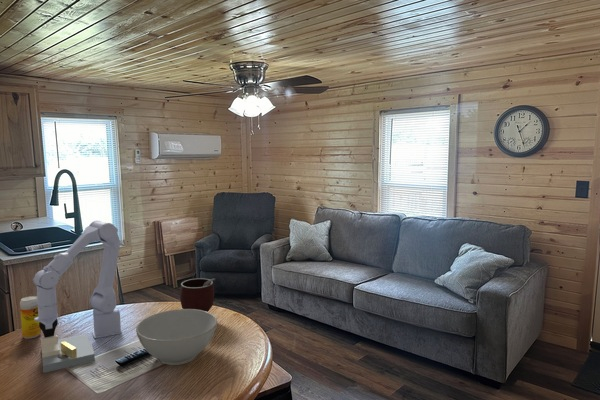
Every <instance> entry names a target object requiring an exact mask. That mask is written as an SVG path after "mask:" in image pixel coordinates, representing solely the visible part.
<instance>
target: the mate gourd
mask: <svg viewBox="0 0 600 400" xmlns="http://www.w3.org/2000/svg"><path fill="white" fill-rule="evenodd" d="M213 281H216V278H211V279H209V278H204V277H201V278H200V277H199V278H191V279H187V280H186V279H185V280H183V281H182V282H181V283H180V290H179V299H180V305H181V309H196V310H202V311H206V312H210V310H211V309H212V307H213V305H214V301H215V288H214V287H215V285H214V284H213V283H214V282H213Z"/></svg>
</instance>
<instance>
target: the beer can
mask: <svg viewBox="0 0 600 400" xmlns="http://www.w3.org/2000/svg"><path fill="white" fill-rule="evenodd" d="M19 309H20V310H19V311H20V323H21V324H20V325H21V336H22V338H23V339H25V340H31V339H35V338H38V337H39V336H40V334H41V333H42V332H41V331H42V330H41V329H40V327H39V321H35V318H36V317H38V303H37V295H29V296H25V297H22V298H21V299H20V302H19Z"/></svg>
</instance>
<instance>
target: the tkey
mask: <svg viewBox="0 0 600 400" xmlns="http://www.w3.org/2000/svg"><path fill="white" fill-rule="evenodd" d="M61 352H62V356H68V357H70V358H72V359H74V358H77V350H76V348H75V347H74V346H72V345H70V344H69V343H67V342H65V341H64V342H61Z"/></svg>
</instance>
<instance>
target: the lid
mask: <svg viewBox="0 0 600 400" xmlns="http://www.w3.org/2000/svg"><path fill="white" fill-rule="evenodd" d="M58 339H59V336H58V335H57V334H56V335H54V336H51V337H46V338H45V337H41V338H40V341H41V342H40V343H41V357H42V358H44V357H49V356H53V355H58V354H60V351H59V344H58Z"/></svg>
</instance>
